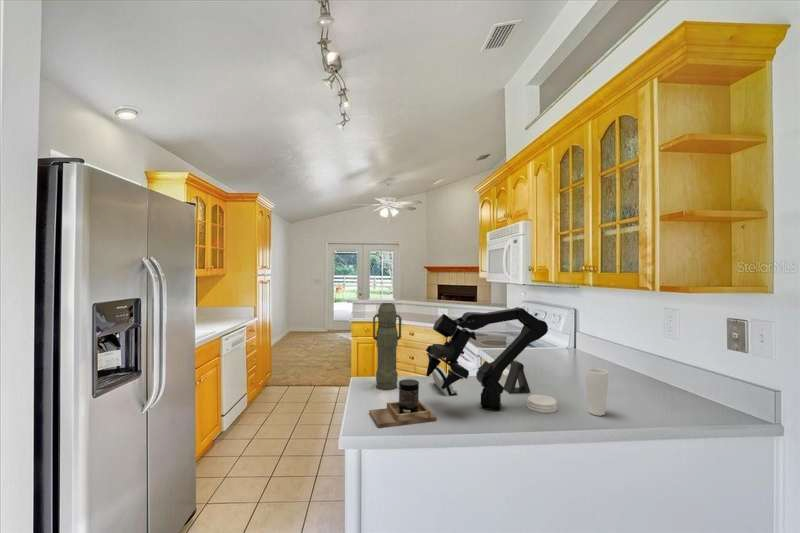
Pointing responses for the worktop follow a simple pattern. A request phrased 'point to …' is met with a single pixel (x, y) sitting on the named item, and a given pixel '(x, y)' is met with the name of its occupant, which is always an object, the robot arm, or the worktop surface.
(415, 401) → the supplement container
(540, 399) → the coaster
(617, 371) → the worktop surface
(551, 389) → the worktop surface
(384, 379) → the thermos
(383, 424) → the board
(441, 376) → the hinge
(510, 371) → the phone stand
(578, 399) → the worktop surface
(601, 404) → the drinking glass
